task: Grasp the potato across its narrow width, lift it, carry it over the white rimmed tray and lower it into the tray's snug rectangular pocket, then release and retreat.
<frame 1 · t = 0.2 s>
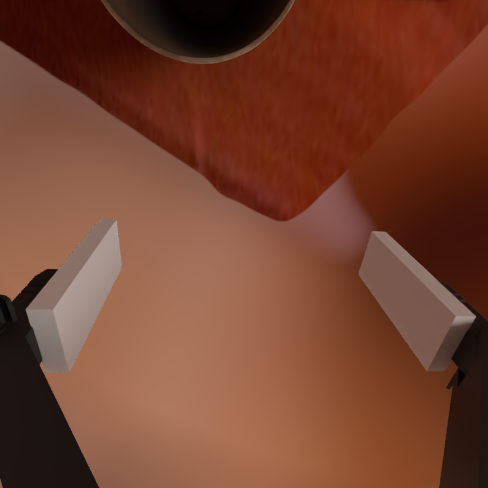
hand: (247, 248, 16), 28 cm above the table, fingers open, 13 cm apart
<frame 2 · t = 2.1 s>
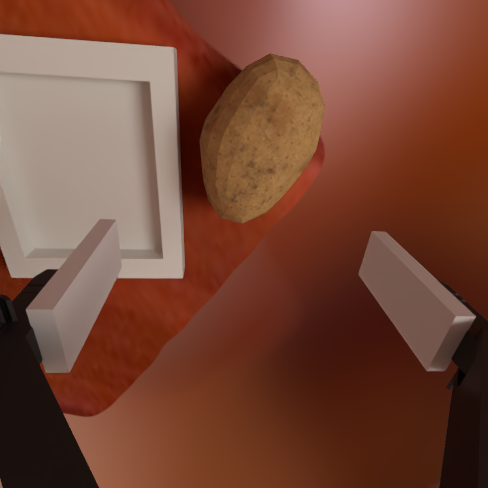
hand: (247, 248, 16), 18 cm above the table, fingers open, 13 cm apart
potato: (251, 138, 31), on the table
white rimmed tray: (89, 172, 31), on the table
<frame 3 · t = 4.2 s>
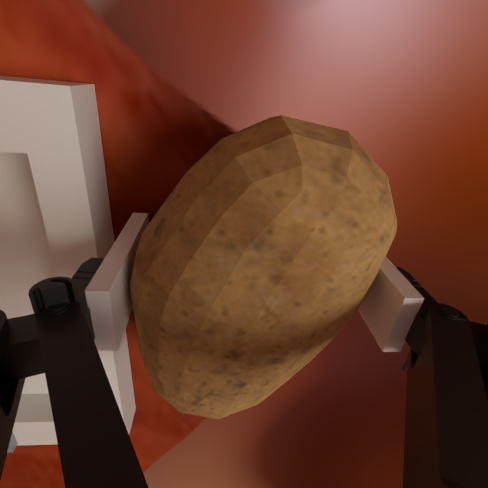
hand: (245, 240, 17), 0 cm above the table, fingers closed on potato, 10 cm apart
potato: (241, 235, 17), on the table, touching gripper
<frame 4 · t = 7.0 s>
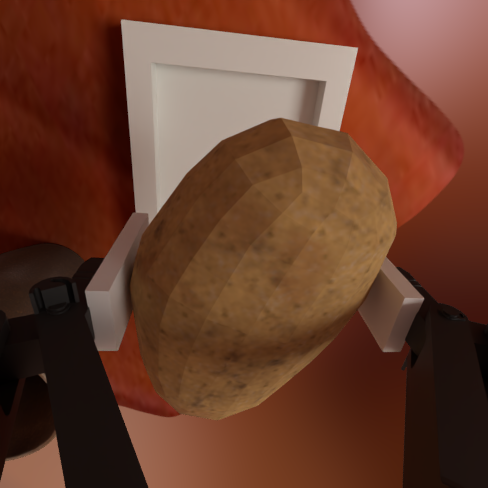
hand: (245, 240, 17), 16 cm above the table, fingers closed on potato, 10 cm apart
potato: (241, 236, 17), point 15 cm above the table, touching gripper
plant pot: (55, 271, 35), on the table
white rimmed tray: (232, 170, 31), on the table
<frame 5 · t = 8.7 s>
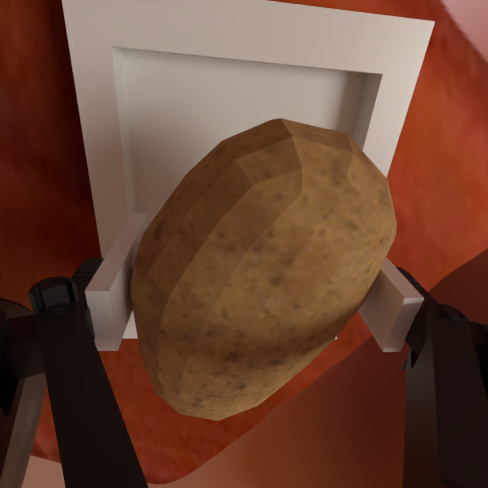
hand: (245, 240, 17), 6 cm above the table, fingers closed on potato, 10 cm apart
potato: (241, 236, 17), point 5 cm above the table, touching gripper
plant pot: (4, 331, 26), on the table
white rimmed tray: (238, 199, 22), on the table
when the fingers open (4 cm above the table, at t = 9.8 s): potato drops 3 cm, resting on white rimmed tray.
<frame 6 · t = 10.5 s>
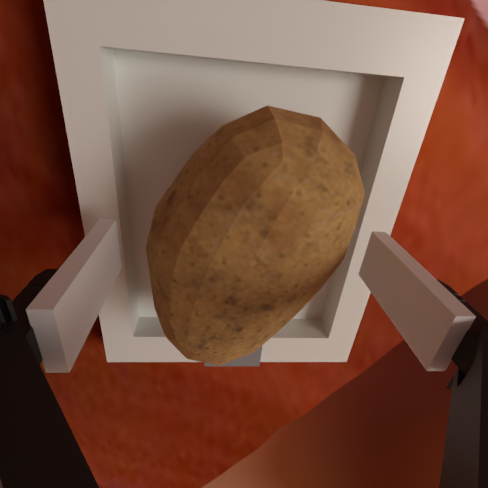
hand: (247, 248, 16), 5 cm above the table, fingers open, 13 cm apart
potato: (239, 214, 20), resting on white rimmed tray
white rimmed tray: (241, 213, 20), on the table
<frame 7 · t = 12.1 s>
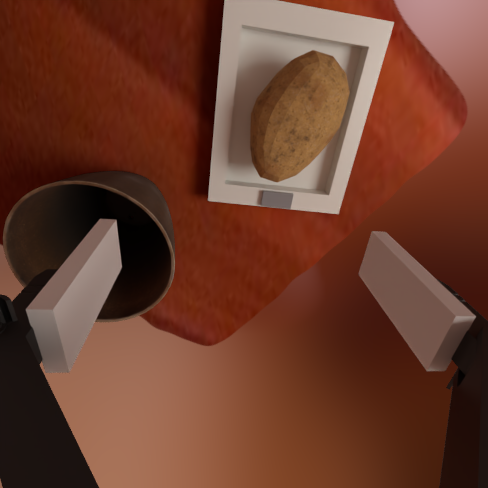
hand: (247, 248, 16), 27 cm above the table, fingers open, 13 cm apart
potato: (286, 118, 39), resting on white rimmed tray
plant pot: (134, 200, 43), on the table
white rimmed tray: (287, 118, 39), on the table
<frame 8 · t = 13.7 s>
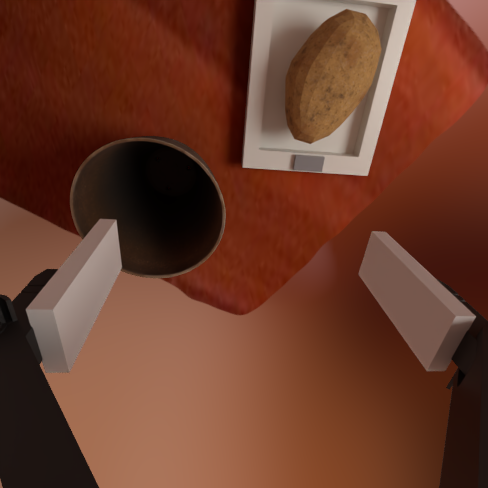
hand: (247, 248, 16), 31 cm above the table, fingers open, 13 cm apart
potato: (316, 82, 40), resting on white rimmed tray
plant pot: (171, 171, 45), on the table
white rimmed tray: (316, 83, 40), on the table
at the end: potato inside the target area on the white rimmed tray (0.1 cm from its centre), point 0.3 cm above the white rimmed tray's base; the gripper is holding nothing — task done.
